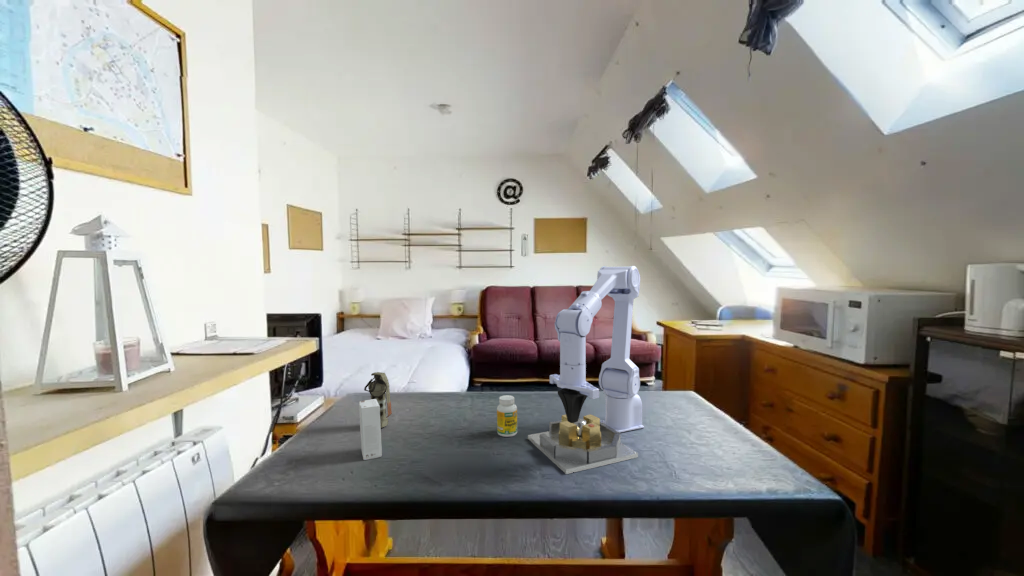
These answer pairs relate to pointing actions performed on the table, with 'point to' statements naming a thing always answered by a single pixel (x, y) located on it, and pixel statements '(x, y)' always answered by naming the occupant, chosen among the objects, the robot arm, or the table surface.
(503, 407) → the supplement bottle
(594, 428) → the gold block ring
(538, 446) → the flange plate
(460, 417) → the table surface
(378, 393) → the grenade model
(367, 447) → the skincare box
